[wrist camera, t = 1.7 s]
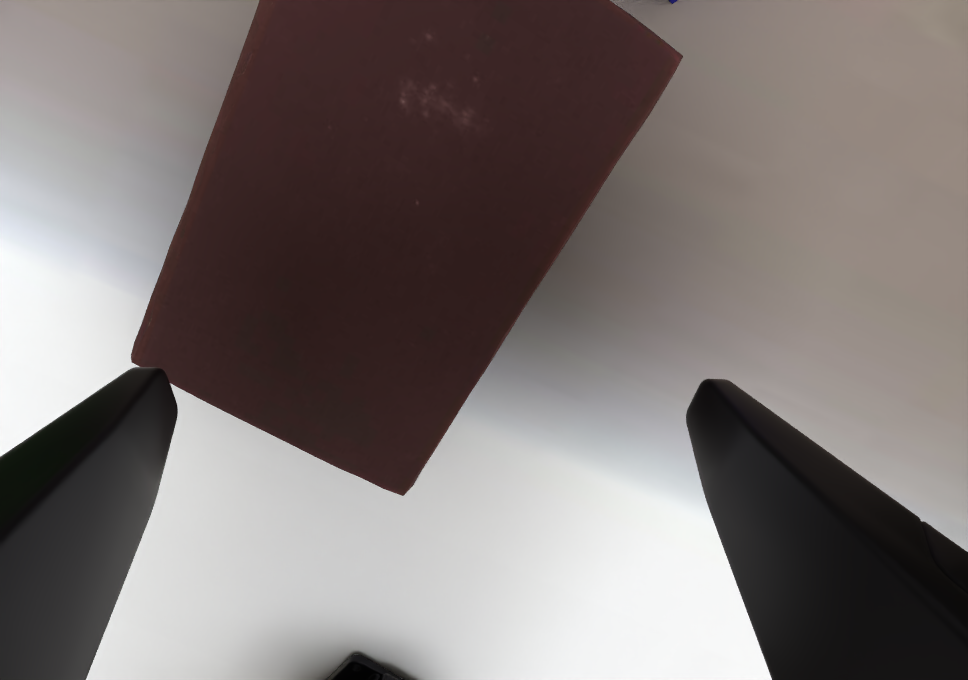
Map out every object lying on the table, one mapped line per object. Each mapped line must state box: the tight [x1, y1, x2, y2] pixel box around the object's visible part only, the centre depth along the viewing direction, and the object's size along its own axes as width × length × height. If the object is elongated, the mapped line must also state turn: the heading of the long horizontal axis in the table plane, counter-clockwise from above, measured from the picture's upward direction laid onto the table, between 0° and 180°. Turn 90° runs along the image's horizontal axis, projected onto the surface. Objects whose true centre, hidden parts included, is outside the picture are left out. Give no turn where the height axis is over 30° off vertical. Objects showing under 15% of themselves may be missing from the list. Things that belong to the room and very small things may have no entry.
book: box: [131, 0, 683, 496], centre depth 20 cm, size 12×19×3 cm, turn 150°
